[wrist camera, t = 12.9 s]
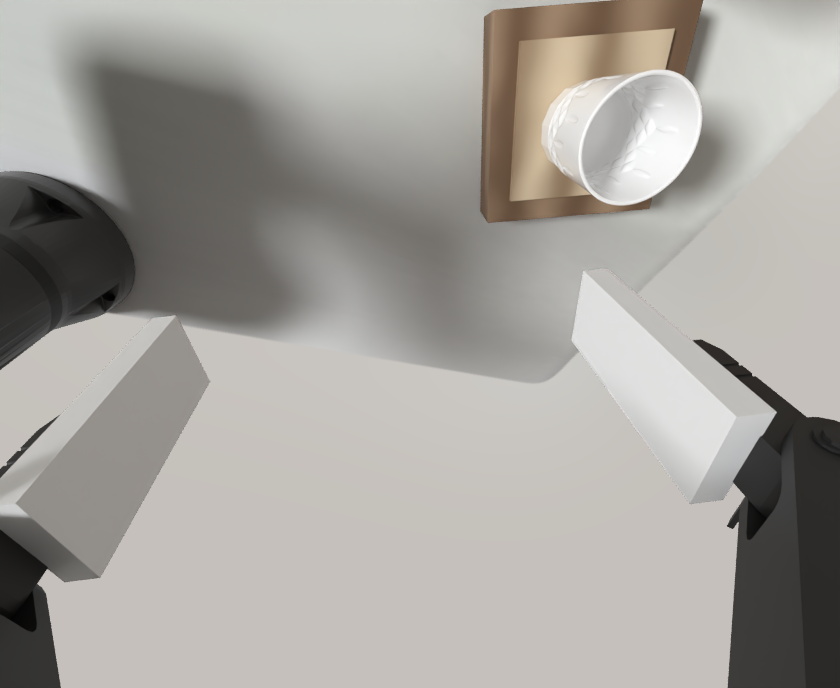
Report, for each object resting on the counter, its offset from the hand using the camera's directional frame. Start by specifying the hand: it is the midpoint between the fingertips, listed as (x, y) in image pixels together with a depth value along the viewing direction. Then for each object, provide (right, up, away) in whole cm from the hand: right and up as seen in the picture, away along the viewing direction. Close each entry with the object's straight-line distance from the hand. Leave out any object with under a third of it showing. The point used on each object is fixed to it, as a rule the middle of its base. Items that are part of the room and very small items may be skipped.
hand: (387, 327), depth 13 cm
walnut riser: (+15, +21, +24) cm, 35 cm away
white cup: (+15, +18, +21) cm, 31 cm away
